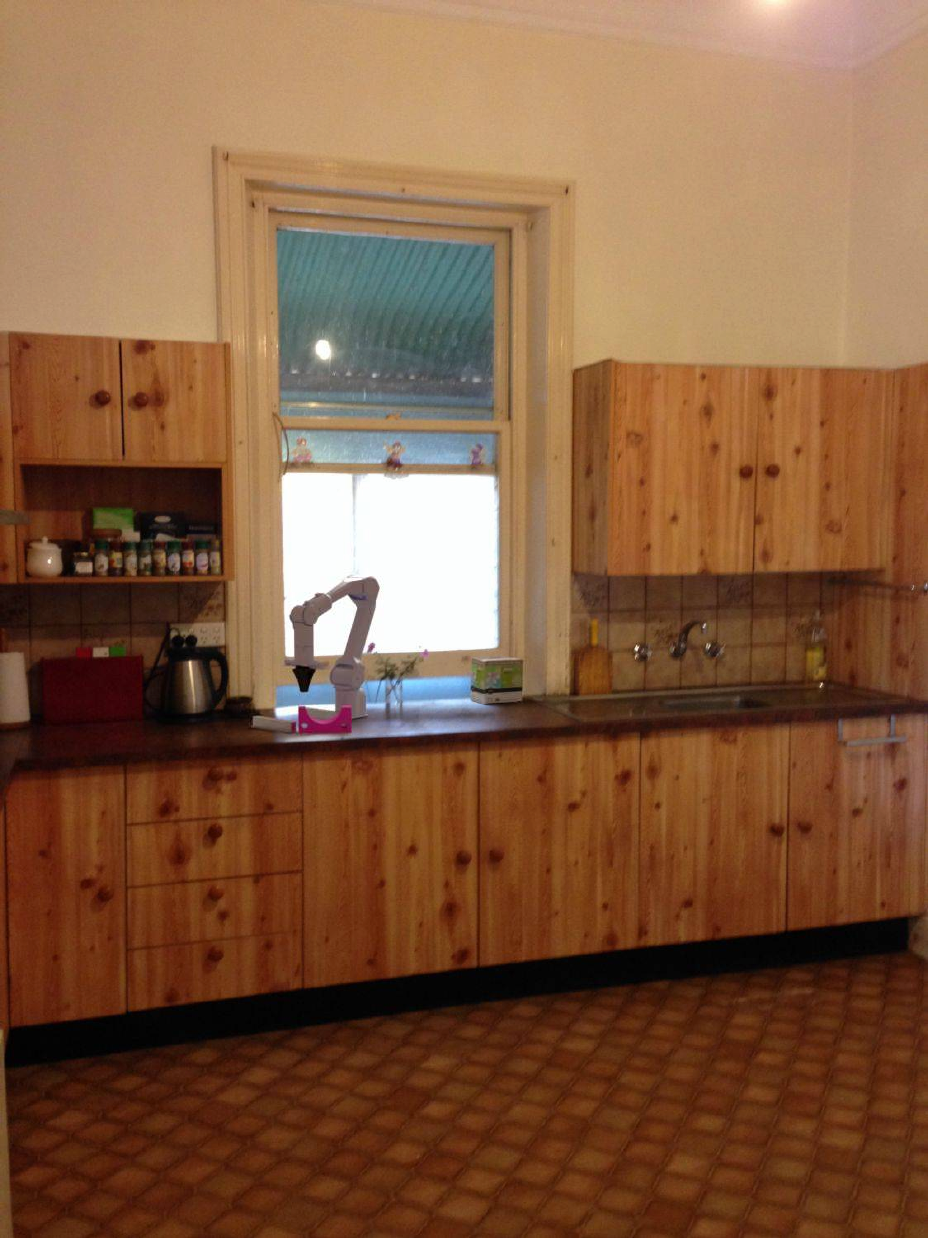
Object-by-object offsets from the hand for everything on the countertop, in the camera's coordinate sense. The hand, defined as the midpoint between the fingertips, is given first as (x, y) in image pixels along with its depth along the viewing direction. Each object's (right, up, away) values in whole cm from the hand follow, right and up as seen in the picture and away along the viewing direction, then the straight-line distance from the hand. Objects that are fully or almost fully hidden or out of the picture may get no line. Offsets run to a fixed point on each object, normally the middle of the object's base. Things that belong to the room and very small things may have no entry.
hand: (304, 692), depth 319 cm
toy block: (+7, -11, -8) cm, 16 cm away
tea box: (+58, -7, +48) cm, 75 cm away
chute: (-2, -10, +2) cm, 10 cm away
